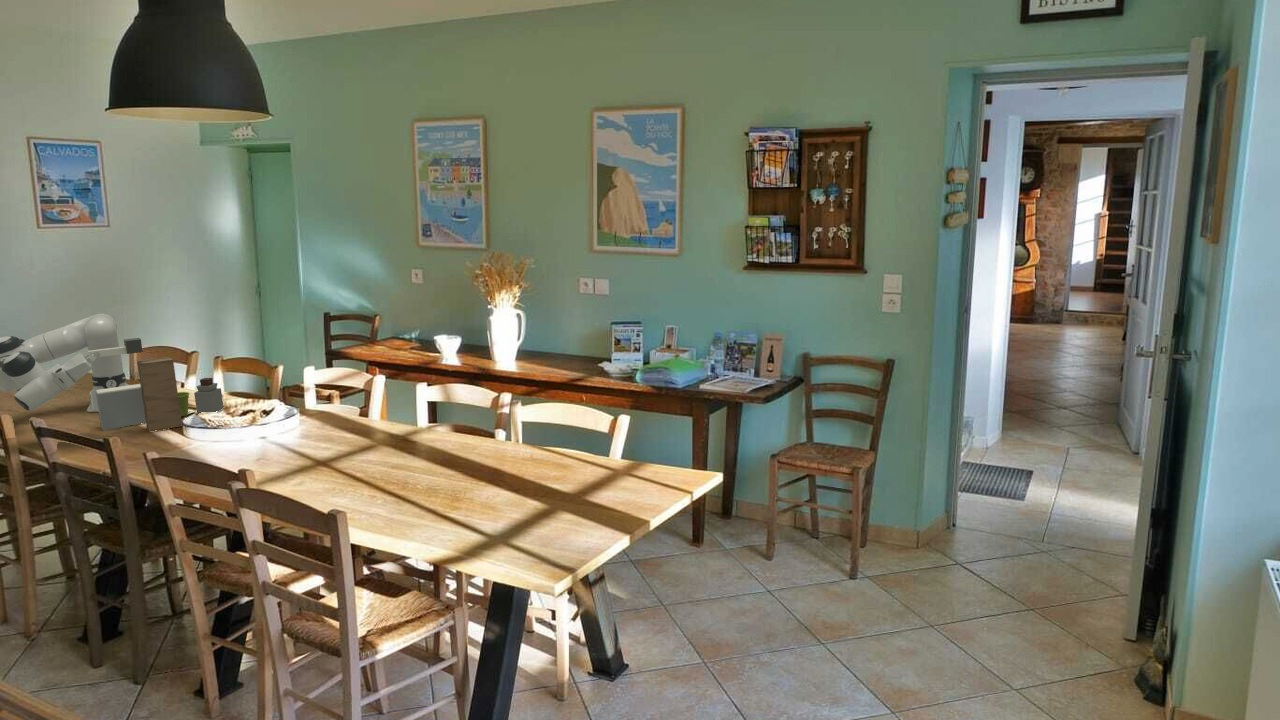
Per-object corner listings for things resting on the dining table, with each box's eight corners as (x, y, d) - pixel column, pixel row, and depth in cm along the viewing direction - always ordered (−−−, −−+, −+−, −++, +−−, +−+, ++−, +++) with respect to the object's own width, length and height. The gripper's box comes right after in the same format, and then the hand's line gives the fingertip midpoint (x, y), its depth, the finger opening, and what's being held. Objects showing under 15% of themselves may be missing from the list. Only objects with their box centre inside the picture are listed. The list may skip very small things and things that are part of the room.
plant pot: (161, 419, 362) (158, 398, 361) (173, 413, 372) (170, 392, 370) (186, 418, 363) (183, 397, 361) (196, 412, 372) (193, 391, 370)
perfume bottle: (225, 422, 354) (219, 376, 351) (215, 427, 348) (209, 380, 344) (208, 422, 355) (202, 376, 351) (198, 427, 348) (192, 380, 345)
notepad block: (101, 426, 354) (95, 390, 351) (147, 419, 363) (142, 383, 360) (103, 430, 348) (97, 393, 346) (150, 422, 358) (145, 386, 355)
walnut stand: (146, 428, 350) (136, 360, 345) (178, 422, 356) (169, 356, 351) (150, 432, 343) (140, 364, 338) (182, 426, 350) (173, 359, 345)
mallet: (89, 358, 330) (87, 345, 329) (88, 356, 334) (86, 343, 333) (142, 352, 339) (140, 339, 338) (140, 350, 343) (138, 337, 342)
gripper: (66, 378, 337) (101, 355, 343) (72, 387, 321) (108, 362, 327) (53, 364, 335) (89, 341, 340) (59, 373, 318) (95, 349, 324)
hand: (98, 352), depth 333 cm, fingers closed on mallet, 2 cm apart
